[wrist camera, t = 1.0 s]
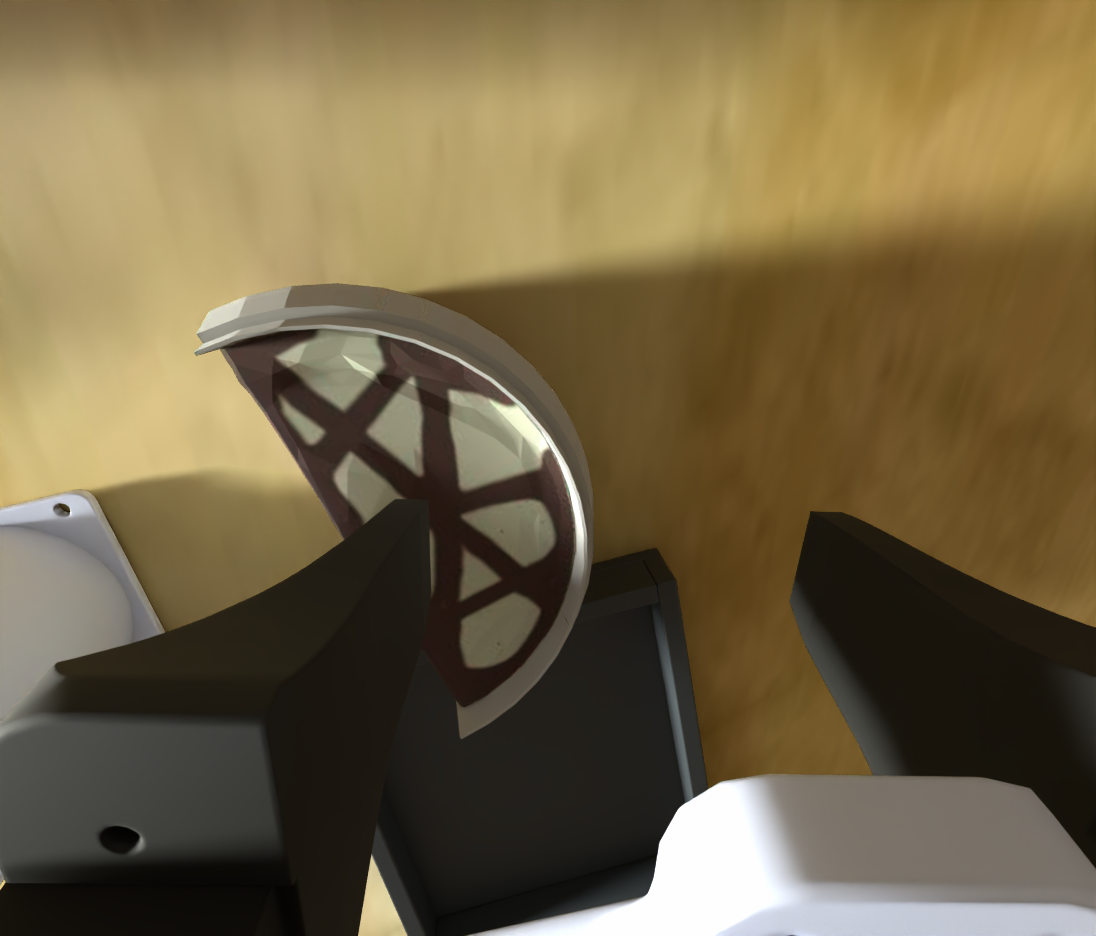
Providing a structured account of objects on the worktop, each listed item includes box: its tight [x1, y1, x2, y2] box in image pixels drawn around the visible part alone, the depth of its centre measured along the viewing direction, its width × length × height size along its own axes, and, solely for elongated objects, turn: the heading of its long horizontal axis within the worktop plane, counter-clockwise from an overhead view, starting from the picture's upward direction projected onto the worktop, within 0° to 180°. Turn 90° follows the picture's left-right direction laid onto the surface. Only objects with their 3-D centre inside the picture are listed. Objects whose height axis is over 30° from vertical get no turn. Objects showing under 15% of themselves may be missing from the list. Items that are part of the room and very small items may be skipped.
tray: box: [372, 548, 708, 936], centre depth 30 cm, size 15×18×3 cm
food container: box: [194, 283, 594, 739], centre depth 20 cm, size 12×6×10 cm, turn 25°
